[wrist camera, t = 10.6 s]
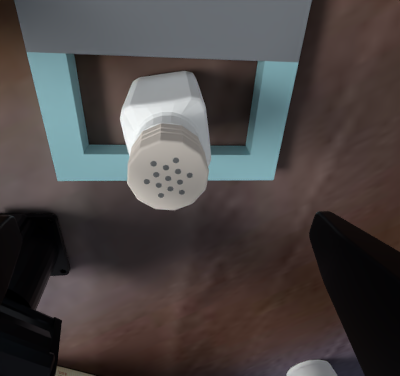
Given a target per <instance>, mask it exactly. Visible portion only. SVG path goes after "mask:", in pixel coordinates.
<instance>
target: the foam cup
mask: <svg viewBox="0 0 400 376" xmlns="http://www.w3.org/2000/svg"><path fill="white" fill-rule="evenodd" d="M286 375H287V376H337V374H336V372H335V371H334V369H333V368H332V366H331V364H329V363H328V362H327V361H324V360H319V359H318V360H308V361H305V362H302V363H299V364H297V365H295V366H294V367H292V368H290V370H289V371H288V372H287V374H286Z"/></svg>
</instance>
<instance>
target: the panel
mask: <svg viewBox="0 0 400 376" xmlns="http://www.w3.org/2000/svg"><path fill="white" fill-rule="evenodd" d="M14 2H15V6H16V10H17V14H18V18H19V23H20V27H21V31H22V35H23V39H24V43H25V47H26V52H27V56H28V60H29V64H30V68H31V72H32V76H33V81H34V85H35V89H36V93H37V97H38V101H39V105H40V109H41V114H42V118H43V122H44V126H45V130H46V134H47V138H48V143H49V147H50V151H51V155H52V159H53V163H54V167H55V171H56V176H57V180H58V181H127V172H128V161H129V157H130V156H129V153H128V149H127V146H126V145H89V142H88V136H87V130H86V124H85V118H84V112H83V106H82V99H81V93H80V87H79V81H78V75H77V69H76V63H75V57H74V54H91V55H117V56H144V57H170V58H196V59H223V60H249V61H258V63H257V70H256V77H255V84H254V91H253V98H252V105H251V112H250V119H249V126H248V133H247V140H246V146H210V149H211V162H210V164H209V166H208V169H209V175H208V180H274V175H275V170H276V166H277V161H278V156H279V152H280V147H281V142H282V138H283V133H284V128H285V124H286V119H287V114H288V110H289V105H290V100H291V95H292V91H293V86H294V81H295V77H296V72H297V67H298V63H299V58H300V53H301V49H302V44H303V39H304V35H305V30H306V25H307V20H308V16H309V11H310V6H311V2H312V0H14Z"/></svg>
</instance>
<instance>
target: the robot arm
mask: <svg viewBox="0 0 400 376" xmlns="http://www.w3.org/2000/svg"><path fill="white" fill-rule="evenodd" d="M48 219H49V220H52V221H49V220H48ZM309 237H310V241H311V244H312V248H313V251H314V254H315V257H316V260H317V263H318V267H319V270H320V273H321V276H322V279H323V282H324V284H325V286H326V289H327V291H328V293H329V296H330V298H331V300H332V302H333V305H334V307H335V309H336V311H337V314H338V316H339V318H340V321H341V323H342V325H343V327H344V330H345V332H346V334H347V336H348V339H349V341H350V343H351V345H352V348H353V350H354V352H355V355H356V357H357V359H358V361H359V364H360V366H361V368H362V370H363V373H364V375H365V376H400V252H399V251H397V250H395V249H394V248H392V247H390V246H389V245H387V244H385V243H383V242H382V241H380V240H378V239H377V238H375V237H373V236H371V235H370V234H368V233H366V232H365V231H363V230H361V229H359V228H358V227H356V226H354V225H353V224H351V223H349V222H347V221H346V220H344V219H342V218H341V217H339V216H337V215H336V214H334V213H332V212H329V211H321V212H317V213H316V214H315V216H314V219H313V222H312V225H311V229H310V232H309ZM63 269H64V270H63ZM69 271H70V264H69V261H68V257H67V253H66V249H65V245H64V242H63V238H62V234H61V230H60V226H59V223H58V219H57V217H56V216H55V215H53V214H0V376H55V374H56V369H57V361H58V352H59V342H60V333H61V323H62V320H60V319H58V318H56V317H54V318H52V317H50V316H48V315H45V314H43V313H41V312H39V311H36V308H37V306H38V304H39V301H40V299H41V297H42V294H43V292H44V289H45V287H46V285H47V282H48V280H49V277H50V276H58V275H67V274H68V273H69Z"/></svg>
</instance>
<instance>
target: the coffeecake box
mask: <svg viewBox="0 0 400 376" xmlns="http://www.w3.org/2000/svg"><path fill="white" fill-rule="evenodd" d="M55 376H95V375H91V374H87V373H83V372H80V371H76V370H72V369H68V368H64V367H60V366H57V369H56V374H55Z"/></svg>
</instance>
